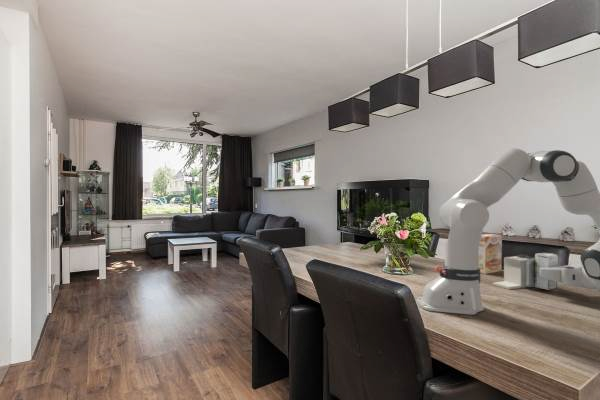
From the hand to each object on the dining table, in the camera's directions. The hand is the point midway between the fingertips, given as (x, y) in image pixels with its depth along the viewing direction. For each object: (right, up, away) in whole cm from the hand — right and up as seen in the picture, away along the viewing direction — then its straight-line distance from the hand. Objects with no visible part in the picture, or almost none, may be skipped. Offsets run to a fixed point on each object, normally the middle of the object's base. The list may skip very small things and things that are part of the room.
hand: (543, 268), depth 140 cm
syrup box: (0, -8, -1) cm, 8 cm away
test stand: (-3, -9, +9) cm, 13 cm away
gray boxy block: (-2, -7, +7) cm, 10 cm away
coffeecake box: (-3, -9, +36) cm, 37 cm away
